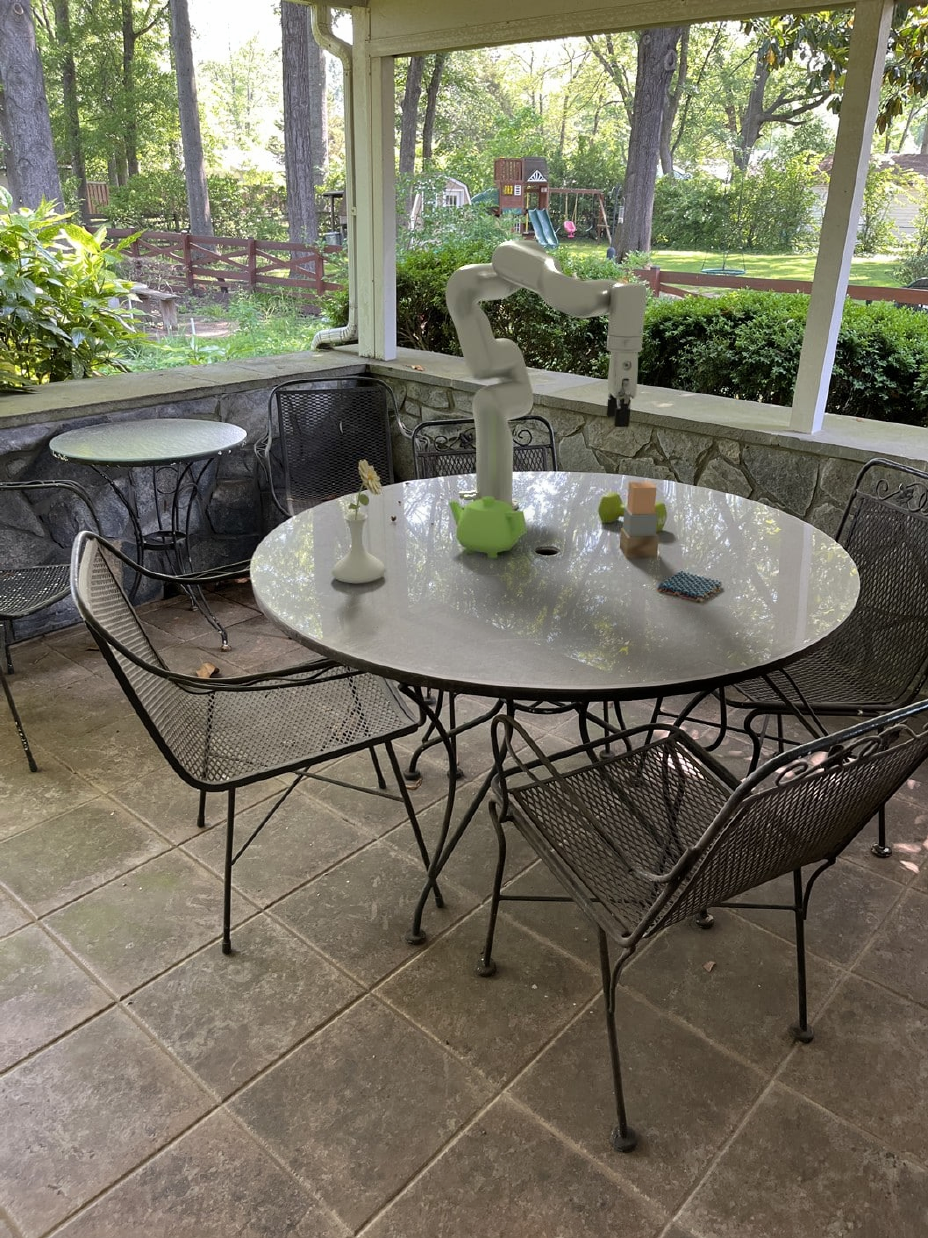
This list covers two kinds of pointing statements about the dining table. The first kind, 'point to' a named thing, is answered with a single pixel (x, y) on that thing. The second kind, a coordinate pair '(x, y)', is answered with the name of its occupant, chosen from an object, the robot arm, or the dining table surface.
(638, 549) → the tower base
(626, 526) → the tower top
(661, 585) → the woven mat
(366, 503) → the flower in vase
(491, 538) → the teapot
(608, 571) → the dining table surface
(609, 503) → the dumbbell
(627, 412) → the robot arm
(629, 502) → the terracotta block
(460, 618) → the dining table surface
